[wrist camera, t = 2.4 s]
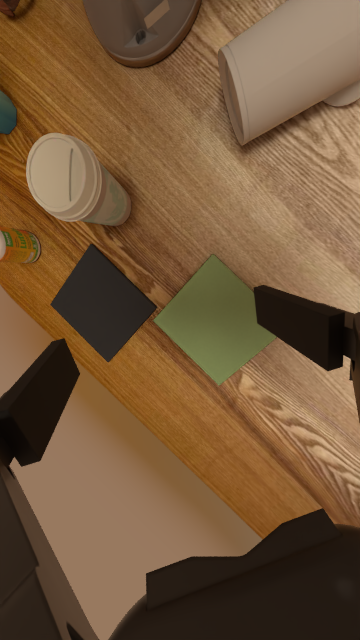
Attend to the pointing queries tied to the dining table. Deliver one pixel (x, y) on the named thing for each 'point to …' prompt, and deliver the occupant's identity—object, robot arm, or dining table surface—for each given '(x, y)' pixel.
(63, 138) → the coffee cup
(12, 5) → the broken clay pot
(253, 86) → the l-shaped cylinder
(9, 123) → the cup
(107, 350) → the charcoal mat
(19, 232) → the supplement bottle
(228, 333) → the sage mat
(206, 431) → the dining table surface
